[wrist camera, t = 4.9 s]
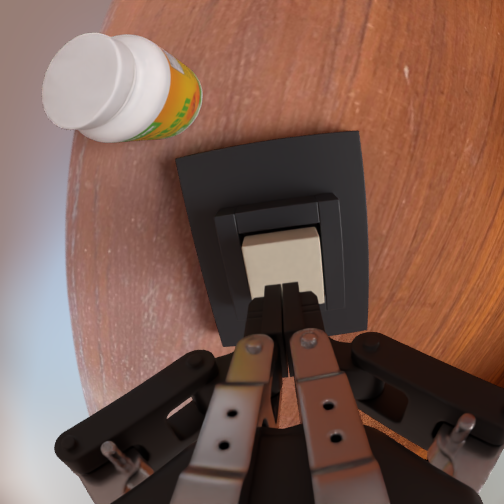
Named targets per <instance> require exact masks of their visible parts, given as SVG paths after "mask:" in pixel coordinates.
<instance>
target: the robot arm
mask: <svg viewBox="0 0 504 504" xmlns="http://www.w3.org/2000/svg"><path fill="white" fill-rule="evenodd" d="M288 366H289V373H290V377H293V376H294V381H295V390H296V397H297V404H298V410H299V417H300V424H299V425H296V426H292V427H289V428H285V429H278V428H279V419H280V410H281V401H282V378H284V377H288ZM190 397H192V399H193V400H192V401H191V402H190V403H188V404H187V405H186V406H184V407H183V408H182V409H180V410H179V411H177V412H176V413H175V414H173V415H172V416H171V417H169V418H168V419H167V416H168V414H169V413H170V412H171V411H172V410H173V409H175V408H176V407H178V406H179V405H180V404H182V403H183V402H184V401H186V400H187V399H188V398H190ZM358 409H359V410H361V411H362V412H364V413H365V414H367V415H369V416H370V417H372V418H373V419H375V420H376V421H378V422H380V423H381V424H383V425H384V426H386V427H388V428H389V429H391V430H393V431H394V432H396V433H398V434H399V435H401V436H403V437H404V438H406V439H408V440H409V441H411V442H413V443H414V444H416V445H418V446H420V447H421V448H423V449H425V450H427V451H428V452H427V458H428V461H429V462H427V461H426V460H424V459H423V458H421V457H420V456H418V455H416V454H415V453H413V452H412V451H410V450H409V449H407V448H406V447H404V446H403V445H401V444H399V443H398V442H396V441H395V440H393V439H392V438H391V437H389V436H388V435H386V434H385V433H383V432H381V431H379V430H377V429H375V428H373V427H370V426H367V425H363V423H362V420H361V417H360V414H359V411H358ZM503 449H504V389H503V388H501V387H499V386H496V385H494V384H492V383H489V382H487V381H485V380H483V379H480V378H478V377H476V376H474V375H471V374H469V373H467V372H464V371H462V370H460V369H458V368H456V367H453V366H451V365H449V364H447V363H444V362H442V361H440V360H438V359H435V358H433V357H431V356H429V355H427V354H424V353H422V352H420V351H418V350H416V349H414V348H411V347H409V346H407V345H405V344H403V343H400V342H398V341H396V340H394V339H392V338H390V337H388V336H385V335H383V334H381V333H377V332H366V333H362V334H360V335H358V336H357V337H355V338H354V339H353V341H352V343H345V342H339V341H335V340H333V339H331V338H330V337H329V336H328V335H327V334H326V332H325V328H324V324H323V319H322V315H321V310H320V306H319V302H318V297H317V295H315V294H314V293H313V292H312V291H305V292H299V285H298V281H297V282H289V283H282V287H281V284H274V285H265V288H264V297H256V298H254V299H253V300H252V301H251V302H250V303H249V305H248V313H247V319H246V325H245V332H244V338H242V339H241V340H240V341H239V342H238V343H237V344H236V347H235V350H234V352H232V353H230V354H227V355H224V356H221V357H217V358H214V355H213V354H212V353H211V352H209V351H206V350H195V351H191V352H189V353H187V354H185V355H184V356H182V357H181V358H179V359H178V360H176V361H175V362H173V363H172V364H170V365H169V366H167V367H166V368H164V369H163V370H161V371H160V372H158V373H157V374H155V375H154V376H152V377H151V378H149V379H148V380H146V381H145V382H143V383H142V384H140V385H139V386H137V387H136V388H134V389H133V390H131V391H130V392H128V393H127V394H125V395H123V396H122V397H120V398H119V399H117V400H116V401H114V402H112V403H111V404H109V405H108V406H106V407H104V408H103V409H101V410H100V411H98V412H96V413H95V414H93V415H92V416H90V417H88V418H87V419H85V420H83V421H82V422H80V423H78V424H77V425H75V426H74V427H72V428H70V429H69V430H67V431H65V432H64V433H62V434H61V435H60V436H59V437H58V438H57V440H56V442H55V447H54V450H55V453H56V455H57V457H59V459H60V460H61V461H63V462H64V463H65V464H66V465H67V466H68V467H69V468H70V469H71V470H72V471H73V472H74V473H75V474H76V475H77V476H79V478H80V479H81V481H82V483H83V485H84V486H85V488H86V490H87V492H88V493H89V495H90V496H91V498H92V500H93V502H94V503H95V504H483V502H482V500H481V498H480V496H479V495H478V494H479V492H480V490H481V488H482V487H483V485H484V484H485V482H486V480H487V479H488V477H489V475H490V473H491V471H492V469H493V468H494V466H495V464H496V462H497V460H498V458H499V456H500V454H501V452H502V450H503Z"/></svg>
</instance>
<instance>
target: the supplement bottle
mask: <svg viewBox="0 0 504 504" xmlns="http://www.w3.org/2000/svg"><path fill="white" fill-rule="evenodd" d="M42 103H43V108H44V110H45V113H46V115H47V117H48V118H49V120H50V121H51V122H52V123H53V124H55V125H56V126H58V127H60V128H62V129H66V130H79V131H80V132H81V133H82V134H83V135H84V136H86V137H88V138H90V139H92V140H95V141H98V142H103V143H116V142H126V141H140V140H155V139H166V138H170V137H173V136H176V135H178V134H180V133H181V132H183V131H184V130H186V129H187V128H188V127H189V126H190V125H191V124H192V123H193V121H194V120H195V119H196V117H197V115H198V113H199V111H200V108H201V104H202V88H201V84H200V82H199V80H198V78H197V77H196V75H195V74H194V73H193V72H192V71H191V70H190V69H189V68H188V67H187V66H185V65H184V64H183V63H181V62H180V61H179V60H177V59H176V58H174V57H173V56H172V55H170V54H169V53H168V52H166V51H165V50H163V49H162V48H160V47H159V46H158V45H156V44H155V43H153V42H152V41H150V40H148V39H146V38H144V37H140V36H137V35H129V34H124V35H117V36H113V37H110V36H107V35H105V34H101V33H86V34H82V35H80V36H77V37H76V38H74V39H72V40H70V41H69V42H68V43H66V44H65V45H64V46H63V47H62V48H61V49H60V50H59V51H58V52H57V54H56V55H55V56H54V58H53V59H52V61H51V62H50V65H49V66H48V68H47V71H46V73H45V76H44V80H43V85H42Z"/></svg>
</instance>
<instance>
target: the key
mask: <svg viewBox="0 0 504 504" xmlns="http://www.w3.org/2000/svg"><path fill="white" fill-rule="evenodd" d="M242 253H243V258H244V263H245V268H246V273H247V278H248V283H249V288H250V293H251V298H252V300H253V299H254V298H256V297H264V288H265V285H274V284H281V287H282V283H289V282H297V281H298V285H299V292H305V291H312V292H313V293H314V294H315V295H317V297H318V302H319V304H322V303H324V302H325V301H324V286H323V273H322V260H321V249H320V239H319V235H318V233H317V230H316V228H315V227H308V228H300V229H293V230H285V231H278V232H271V233H264V234H256V235H249V236H245V237H244V241H243V244H242Z"/></svg>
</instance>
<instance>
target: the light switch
mask: <svg viewBox="0 0 504 504" xmlns="http://www.w3.org/2000/svg"><path fill="white" fill-rule="evenodd" d="M175 160H176V165H177V170H178V175H179V179H180V184H181V188H182V193H183V197H184V202H185V206H186V210H187V215H188V219H189V223H190V227H191V231H192V235H193V239H194V244H195V247H196V251H197V255H198V259H199V263H200V267H201V271H202V275H203V278H204V282H205V286H206V289H207V293H208V297H209V300H210V304H211V307H212V311H213V315H214V318H215V321H216V325H217V328H218V332H219V335H220V338H221V342H222V345H223V347H229V346H236V344H237V343H238V342H239V341H240V340H241V339H242V338H244V332H245V325H246V319H247V313H248V305H249V303H250V302H251V301H252V298H251V293H250V288H249V283H248V278H247V273H246V268H245V263H244V258H243V253H242V244H243V241H244V237H245V236H249V235H256V234H264V233H271V232H278V231H285V230H293V229H300V228H308V227H315V228H316V230H317V233H318V235H319V239H320V249H321V260H322V273H323V286H324V301H325V302H324V303H322V304H319V306H320V310H321V315H322V319H323V324H324V328H325V332H326V334H327V335H328V336H333V335H339V334H346V333H352V332H358V331H364V330H367V323H368V295H369V252H368V223H367V206H366V192H365V180H364V170H363V160H362V152H361V144H360V136H359V131H344V132H333V133H322V134H313V135H304V136H296V137H288V138H281V139H274V140H267V141H261V142H255V143H249V144H243V145H238V146H232V147H227V148H222V149H217V150H212V151H207V152H202V153H198V154H193V155H189V156H184V157H180V158H176V159H175Z"/></svg>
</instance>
